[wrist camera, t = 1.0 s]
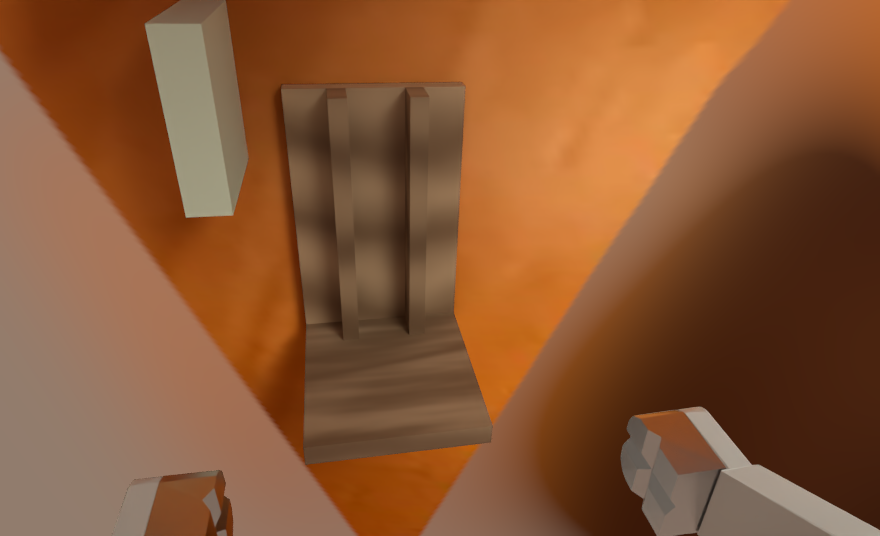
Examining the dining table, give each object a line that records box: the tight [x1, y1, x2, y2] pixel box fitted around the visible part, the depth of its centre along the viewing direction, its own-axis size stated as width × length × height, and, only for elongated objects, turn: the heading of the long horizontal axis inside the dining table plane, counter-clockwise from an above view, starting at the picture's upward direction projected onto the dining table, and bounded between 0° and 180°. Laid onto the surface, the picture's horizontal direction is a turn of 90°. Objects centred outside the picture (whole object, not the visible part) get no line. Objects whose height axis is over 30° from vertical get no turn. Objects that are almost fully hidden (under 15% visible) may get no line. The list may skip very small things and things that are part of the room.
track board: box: [281, 82, 493, 465], centre depth 38 cm, size 20×12×14 cm, turn 178°
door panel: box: [145, 0, 249, 218], centre depth 34 cm, size 10×2×9 cm, turn 178°
